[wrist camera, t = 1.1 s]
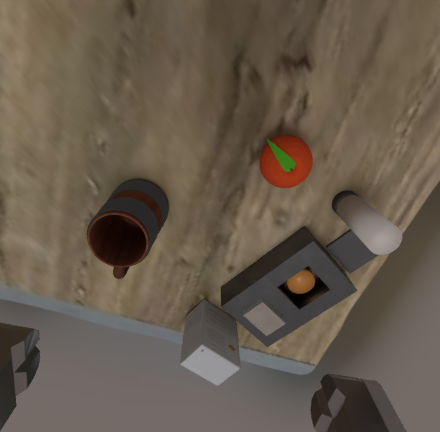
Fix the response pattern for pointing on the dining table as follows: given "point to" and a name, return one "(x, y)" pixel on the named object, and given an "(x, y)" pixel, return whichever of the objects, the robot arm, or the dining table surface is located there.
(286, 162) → the clementine
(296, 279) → the orange rounded piece
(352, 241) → the mat
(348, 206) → the white cylinder
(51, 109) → the dining table surface
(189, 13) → the dining table surface
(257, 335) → the panel
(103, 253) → the mug
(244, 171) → the dining table surface
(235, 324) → the small box
